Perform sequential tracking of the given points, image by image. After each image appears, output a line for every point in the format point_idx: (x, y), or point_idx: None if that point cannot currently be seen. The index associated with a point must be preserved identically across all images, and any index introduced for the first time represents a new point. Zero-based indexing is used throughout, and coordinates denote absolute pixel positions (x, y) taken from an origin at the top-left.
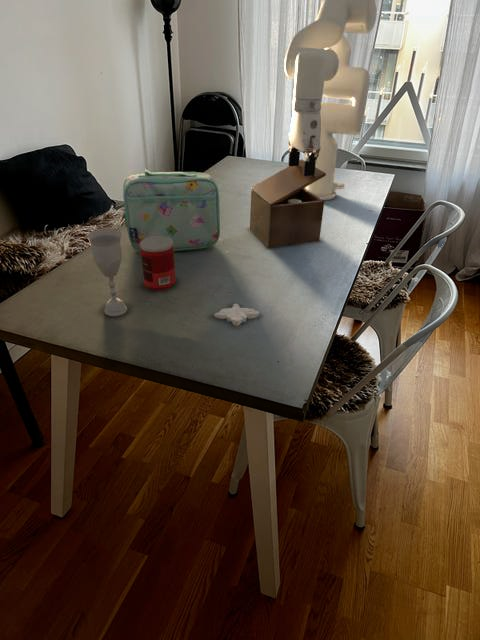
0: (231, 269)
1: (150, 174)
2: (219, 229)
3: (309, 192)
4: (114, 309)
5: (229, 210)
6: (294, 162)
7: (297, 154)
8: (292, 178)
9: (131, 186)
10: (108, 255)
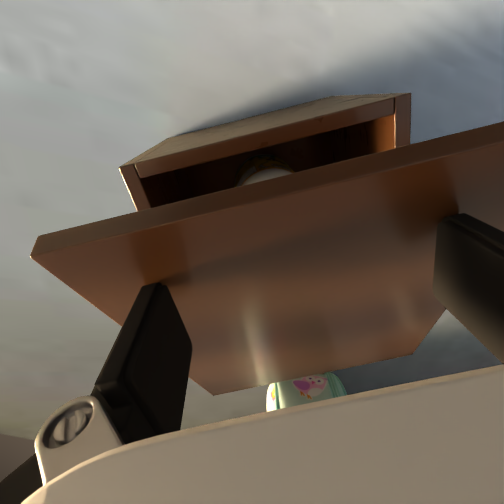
0: (424, 338)
1: None
2: (344, 395)
3: (252, 148)
4: None
5: (78, 328)
6: (174, 334)
7: (151, 378)
8: (318, 310)
9: None
10: None
